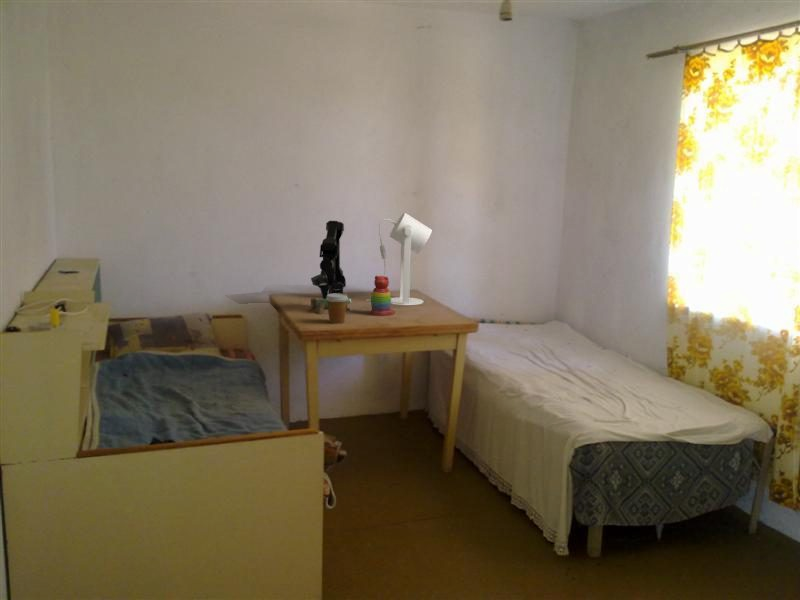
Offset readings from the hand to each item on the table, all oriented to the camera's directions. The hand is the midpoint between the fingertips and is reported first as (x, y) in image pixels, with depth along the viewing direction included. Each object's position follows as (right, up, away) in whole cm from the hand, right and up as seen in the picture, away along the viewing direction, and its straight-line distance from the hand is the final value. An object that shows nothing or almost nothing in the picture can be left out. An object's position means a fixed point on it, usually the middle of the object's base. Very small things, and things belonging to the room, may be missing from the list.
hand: (328, 301), depth 308 cm
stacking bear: (+25, -6, -4) cm, 26 cm away
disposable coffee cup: (+6, -9, -23) cm, 26 cm away
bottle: (+2, -3, +2) cm, 4 cm away
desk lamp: (+33, 0, +24) cm, 41 cm away
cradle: (0, -4, +1) cm, 4 cm away
